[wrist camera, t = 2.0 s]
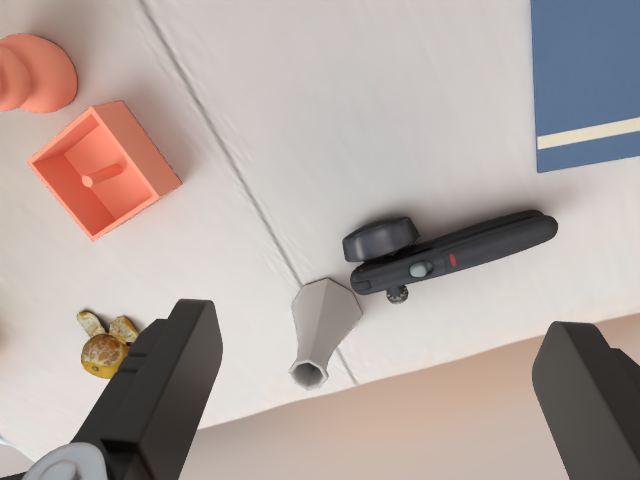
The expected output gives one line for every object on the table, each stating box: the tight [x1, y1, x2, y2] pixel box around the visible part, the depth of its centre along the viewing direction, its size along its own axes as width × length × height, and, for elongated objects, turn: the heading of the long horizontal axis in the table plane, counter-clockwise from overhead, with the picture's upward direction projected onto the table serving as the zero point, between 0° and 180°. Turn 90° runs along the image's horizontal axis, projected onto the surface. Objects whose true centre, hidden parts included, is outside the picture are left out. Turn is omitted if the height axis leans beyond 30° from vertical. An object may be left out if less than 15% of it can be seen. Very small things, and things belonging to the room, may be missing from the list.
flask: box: [289, 278, 363, 390], centre depth 38 cm, size 7×7×10 cm
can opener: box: [342, 210, 558, 304], centre depth 35 cm, size 18×7×6 cm, turn 108°
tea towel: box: [531, 0, 640, 173], centre depth 28 cm, size 18×11×1 cm, turn 14°
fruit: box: [76, 312, 139, 379], centre depth 49 cm, size 8×8×4 cm
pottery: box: [0, 34, 182, 242], centre depth 34 cm, size 18×10×10 cm, turn 32°
